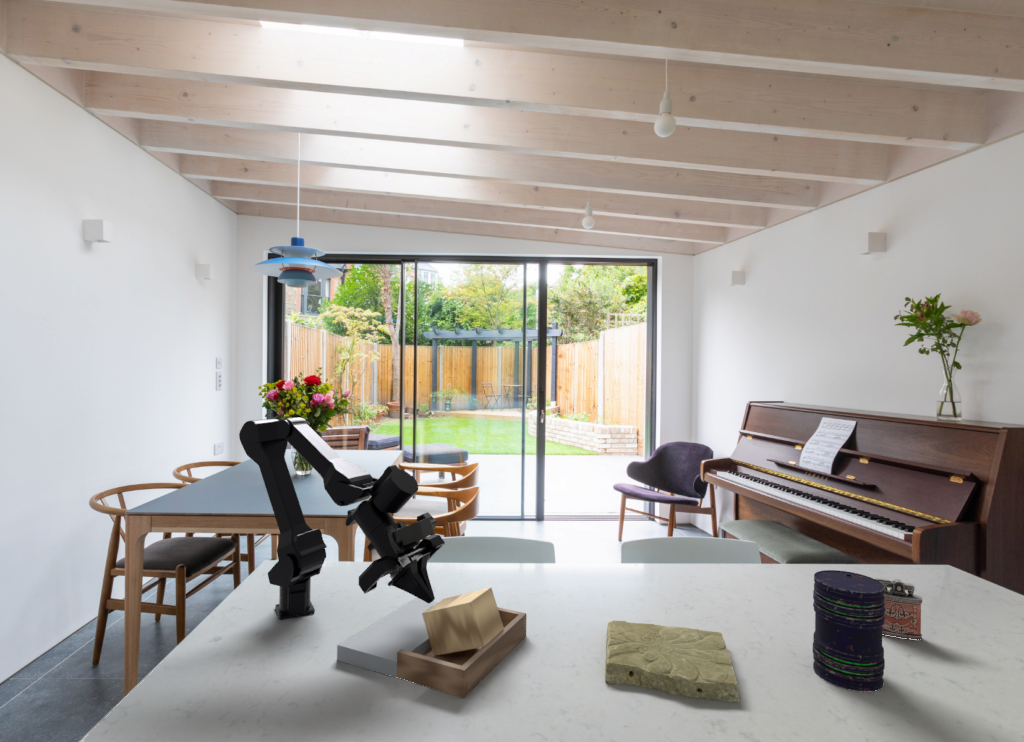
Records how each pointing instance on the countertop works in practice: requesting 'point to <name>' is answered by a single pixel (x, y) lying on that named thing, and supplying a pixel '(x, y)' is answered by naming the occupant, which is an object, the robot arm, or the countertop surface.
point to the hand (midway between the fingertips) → (432, 601)
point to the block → (463, 622)
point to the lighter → (901, 610)
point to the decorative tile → (670, 660)
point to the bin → (462, 660)
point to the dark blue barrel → (848, 630)
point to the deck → (388, 639)
